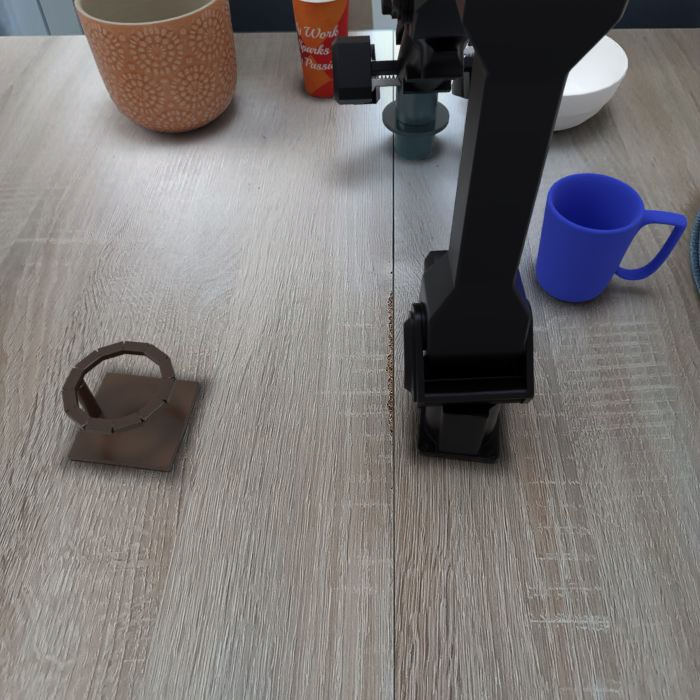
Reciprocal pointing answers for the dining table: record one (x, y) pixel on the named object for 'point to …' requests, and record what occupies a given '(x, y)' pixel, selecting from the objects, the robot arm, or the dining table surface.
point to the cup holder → (129, 411)
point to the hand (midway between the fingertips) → (415, 90)
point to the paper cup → (319, 40)
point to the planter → (163, 58)
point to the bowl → (592, 83)
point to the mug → (595, 235)
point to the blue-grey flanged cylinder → (415, 123)
